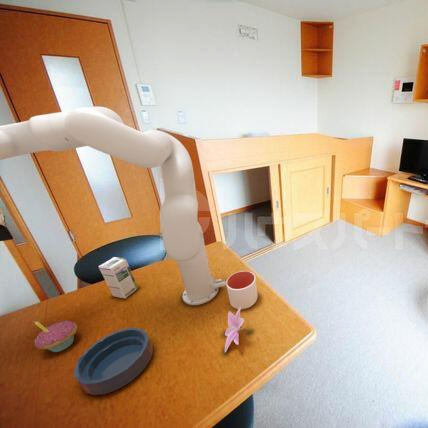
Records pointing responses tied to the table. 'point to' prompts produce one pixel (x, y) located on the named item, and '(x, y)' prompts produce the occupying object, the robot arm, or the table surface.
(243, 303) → the cup
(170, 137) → the robot arm
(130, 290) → the syrup box
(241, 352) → the table surface
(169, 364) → the table surface
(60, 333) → the cupcake
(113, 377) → the bowl
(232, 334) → the lily
